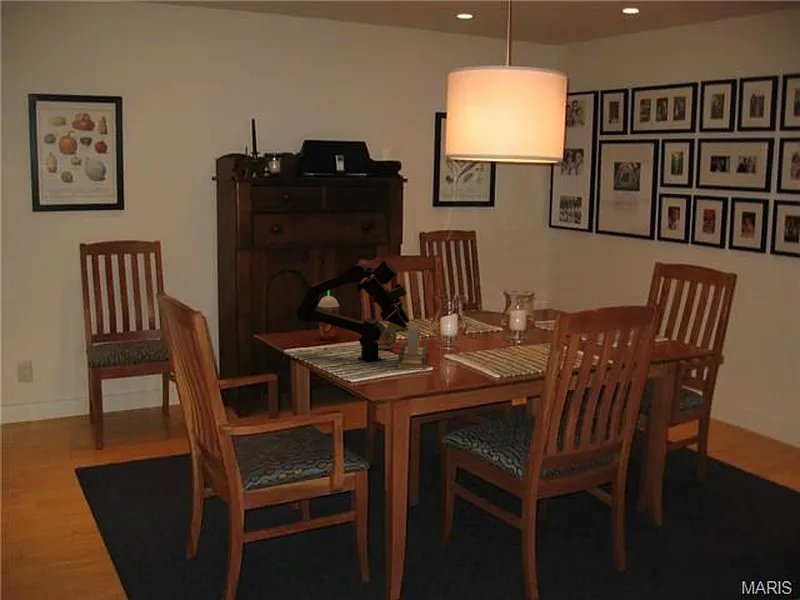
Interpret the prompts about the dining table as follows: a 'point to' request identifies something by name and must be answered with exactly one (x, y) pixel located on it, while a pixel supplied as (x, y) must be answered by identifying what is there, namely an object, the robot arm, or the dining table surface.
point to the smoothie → (330, 306)
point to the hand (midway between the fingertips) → (407, 324)
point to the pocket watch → (388, 335)
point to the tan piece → (412, 358)
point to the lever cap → (413, 341)
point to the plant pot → (396, 327)
